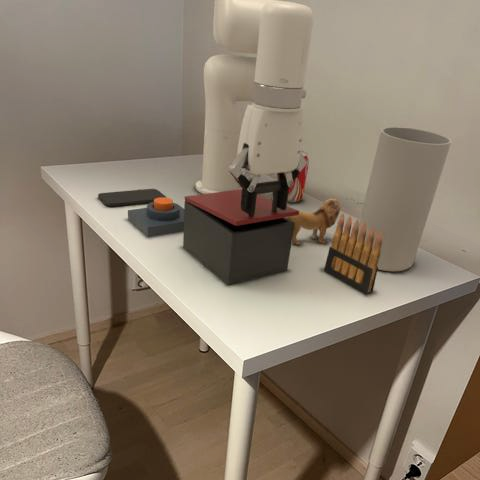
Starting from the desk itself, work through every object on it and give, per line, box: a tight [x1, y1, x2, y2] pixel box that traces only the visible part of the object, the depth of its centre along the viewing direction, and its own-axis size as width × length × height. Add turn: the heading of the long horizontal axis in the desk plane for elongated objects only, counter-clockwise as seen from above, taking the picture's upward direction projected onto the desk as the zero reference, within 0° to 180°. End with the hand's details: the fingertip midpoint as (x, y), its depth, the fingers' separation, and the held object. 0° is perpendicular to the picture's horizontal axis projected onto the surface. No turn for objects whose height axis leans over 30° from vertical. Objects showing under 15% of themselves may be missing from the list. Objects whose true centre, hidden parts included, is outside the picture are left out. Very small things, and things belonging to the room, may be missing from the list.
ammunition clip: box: [323, 212, 383, 295], centre depth 92 cm, size 11×2×12 cm, turn 39°
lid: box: [184, 180, 300, 226], centre depth 91 cm, size 17×14×6 cm
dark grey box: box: [182, 200, 295, 286], centre depth 95 cm, size 17×14×10 cm
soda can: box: [287, 150, 310, 204], centre depth 127 cm, size 7×7×12 cm
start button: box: [154, 197, 174, 211], centre depth 107 cm, size 4×4×2 cm
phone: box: [97, 188, 167, 207], centre depth 119 cm, size 7×1×15 cm
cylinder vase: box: [357, 126, 452, 272], centre depth 98 cm, size 12×12×25 cm
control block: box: [127, 202, 184, 238], centre depth 108 cm, size 12×10×4 cm
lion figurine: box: [286, 197, 341, 246], centre depth 106 cm, size 15×5×9 cm, turn 116°
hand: (263, 209), depth 86 cm, fingers closed on lid, 6 cm apart
